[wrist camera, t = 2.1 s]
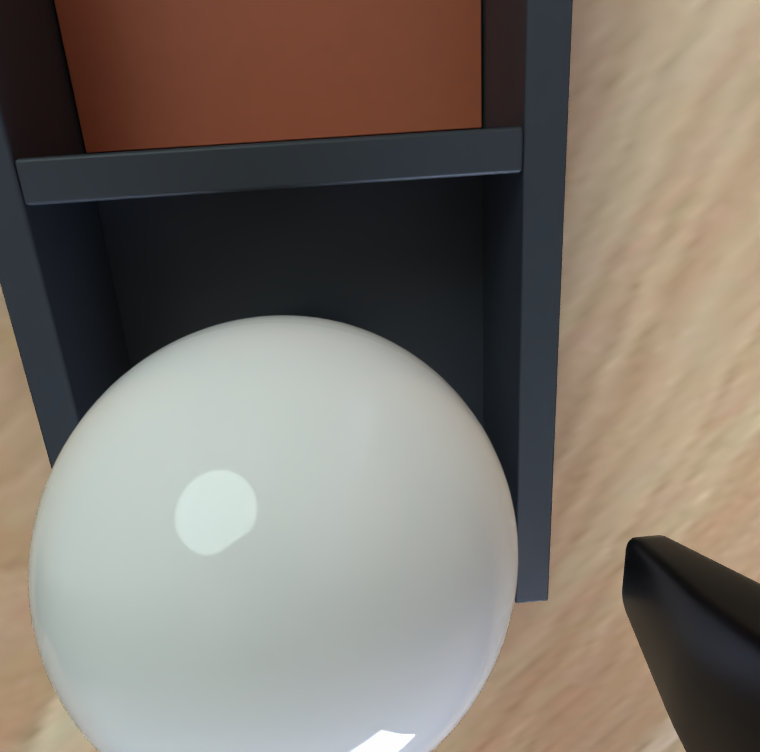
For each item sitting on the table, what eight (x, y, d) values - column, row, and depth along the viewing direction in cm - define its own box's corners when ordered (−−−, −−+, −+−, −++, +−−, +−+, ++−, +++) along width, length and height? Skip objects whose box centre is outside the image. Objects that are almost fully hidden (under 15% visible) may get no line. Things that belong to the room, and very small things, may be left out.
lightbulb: (336, 509, 18) (334, 1017, 7) (136, 386, 16) (-222, 817, 6) (482, 337, 16) (733, 672, 6) (278, 181, 15) (132, 266, 4)
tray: (145, 545, 18) (98, 643, 14) (-78, -435, 11) (-278, -715, 7) (507, 513, 18) (548, 601, 15) (520, -452, 11) (604, -725, 8)
